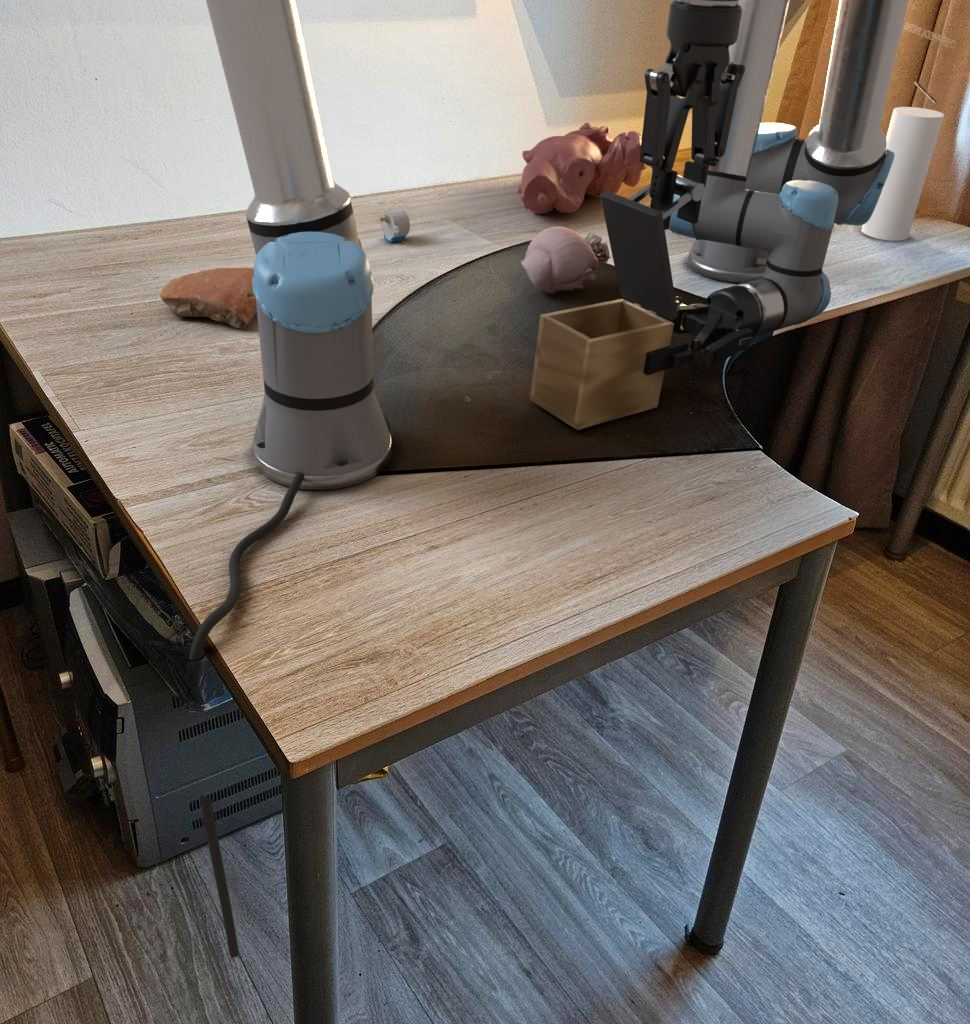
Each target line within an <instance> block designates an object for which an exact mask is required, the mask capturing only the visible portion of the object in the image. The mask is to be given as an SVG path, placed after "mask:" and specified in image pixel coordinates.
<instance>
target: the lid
mask: <svg viewBox="0 0 970 1024" xmlns="http://www.w3.org/2000/svg"><path fill="white" fill-rule="evenodd" d="M650 185H651V182H650V183H649V184H647V185H646V186H645V187H643V188H642V189H641V190H639V191H637V192H635V194H633V195H632V196H631V197H629V198H627V197H625V196H622V195H619V194H618V193H616V194H614V193H611V192H609V191H605V192H604V193H602V194H601V195H600V202H601V207H602V212H603V216H604V221H605V225H606V231H607V236H608V240H609V241H608V242H609V246H610V251H611V255H612V260H613V261H612V262H613V265H614V269H615V271H614V272H615V275H616V280H617V285H618V289H619V295H620V297H622V298H623V299H625V300H627V301H629V302H631V303H633V304H635V303H636V304H638V305H640V306H642V307H645V308H647V309H649V310H651V311H653V312H655V313H657V314H659V315H661V316H663V317H665V318H668V319H670V320H672V321H673V320H674V319H675V318H677V317H678V312H677V305H676V299H675V296H676V292H675V287H674V280H673V274H672V268H671V261H670V256H669V255H670V254H669V248H668V242H667V236H666V230H665V228H664V222H663V220H664V219H665V218H667V217H668V216H670V215H671V214H672V213H674V212H675V211H676V210H678V209H679V208H681V207H682V206H683V205H685V204H686V203H687V202H689V201H690V200H692V201H695V202H697V201H699V200H701V199H702V197H703V195H704V193H705V186H704V185H703V184H702V183H699V182H696V181H693V180H690V179H687V178H684V177H683V175H682V176H681V175H678V174H677V179H676V185H675V192H674V194H676V195H679V196H681V197H680V198H679V199H678V200H676V201H675V202H673V203H672V204H671V205H669V206H668V207H667V208H665V209H664V210H662V211H659V210H656V209H653V208H651V207H650V206H648V205H645V204H643V203H640V202H641V201H642V200H643V199H645V198H646V197H648V196H650V194H649V192H650Z"/></svg>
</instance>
